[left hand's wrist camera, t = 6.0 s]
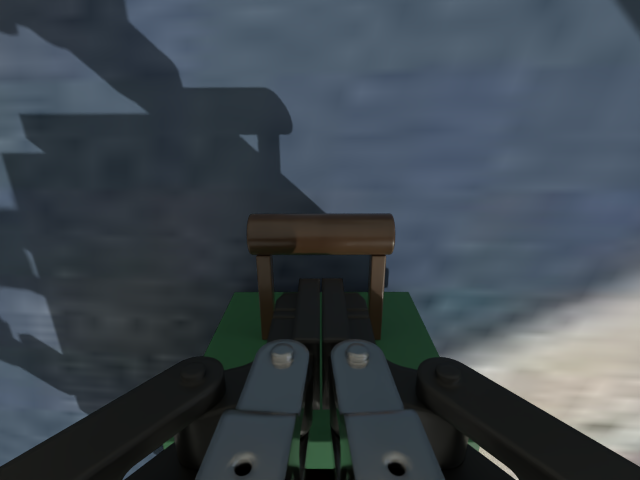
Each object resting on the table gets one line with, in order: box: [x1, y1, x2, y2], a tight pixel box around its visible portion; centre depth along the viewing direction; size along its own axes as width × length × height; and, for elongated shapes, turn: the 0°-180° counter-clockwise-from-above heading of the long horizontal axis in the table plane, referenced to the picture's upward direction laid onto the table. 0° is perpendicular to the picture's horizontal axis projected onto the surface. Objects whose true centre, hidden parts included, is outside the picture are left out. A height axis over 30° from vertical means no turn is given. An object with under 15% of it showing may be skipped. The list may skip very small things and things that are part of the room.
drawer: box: [163, 213, 480, 480], centre depth 17 cm, size 22×10×10 cm, turn 0°
